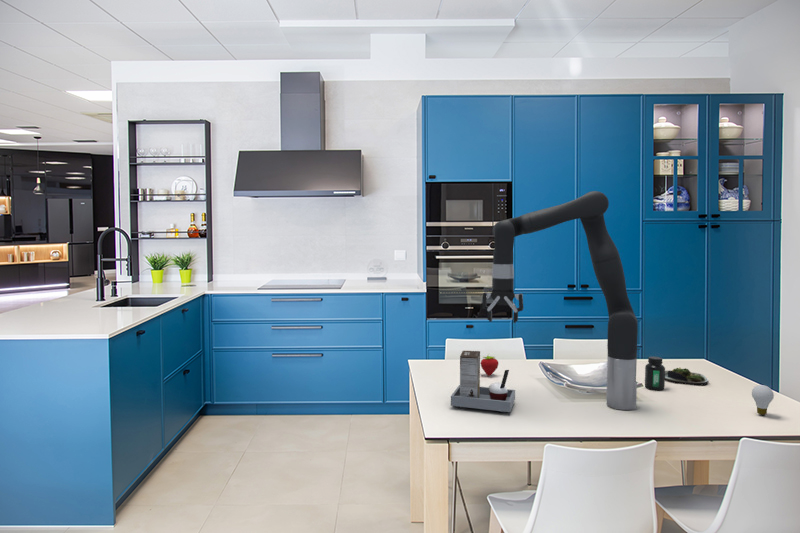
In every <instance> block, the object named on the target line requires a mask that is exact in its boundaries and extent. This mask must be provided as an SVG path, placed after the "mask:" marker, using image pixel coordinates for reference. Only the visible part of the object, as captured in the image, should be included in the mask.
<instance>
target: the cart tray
mask: <svg viewBox="0 0 800 533" xmlns="http://www.w3.org/2000/svg"><path fill="white" fill-rule="evenodd" d="M506 389H507V388H506ZM507 390H508V392H507V398H506V400H505V401H501V400H491V399H490V395H489V386H480V396H479V398H472V397H462V396H460V384H459V385H458V386H456V388H455V390H453V392H452V394H451V395H450V406H452V407H456V408H457V409H461V408H470V409H477V410H487V411H497V412H501V414H505V413H506V412H507V413H511V411H512V409H513V406H514V404H515V400H516V389H509V388H508V389H507Z"/></svg>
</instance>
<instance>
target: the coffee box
mask: <svg viewBox="0 0 800 533" xmlns="http://www.w3.org/2000/svg"><path fill="white" fill-rule="evenodd" d="M480 379H481V351H480V350H462V351H461V354H460V355H459V385H460V396H462V397H472V398H479V396H480V387H481V380H480Z"/></svg>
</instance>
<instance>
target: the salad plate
mask: <svg viewBox="0 0 800 533" xmlns="http://www.w3.org/2000/svg"><path fill="white" fill-rule="evenodd" d="M665 382H669V383H673V384H677V385H678V384H680V385H685V386H686V385H687V386H699V387H700V386H705V385H707V384H708V383H709V379H708V378H707V377H706V376H705V375H704V374H701V373H698V372H691V371H690V369H689V368H686V367H685V368H681V367H676V368H673V369H670V370H665Z"/></svg>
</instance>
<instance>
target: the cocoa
mask: <svg viewBox="0 0 800 533" xmlns="http://www.w3.org/2000/svg"><path fill="white" fill-rule="evenodd" d="M509 371H510V370H509V369H505V370H504V372H503V377H502V381H501V383H500V382H494V383H491V384H489V386H488V387H489V395H490V399H491V400H501V401H505V400H506V398H507V392H508V390H507V387H506V383H507V379H508V375H509Z"/></svg>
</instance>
